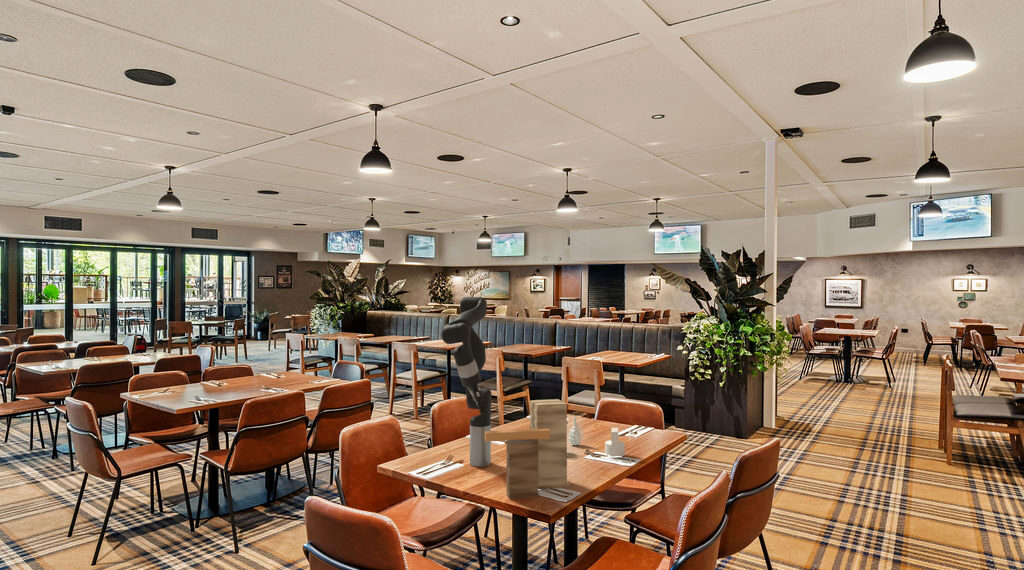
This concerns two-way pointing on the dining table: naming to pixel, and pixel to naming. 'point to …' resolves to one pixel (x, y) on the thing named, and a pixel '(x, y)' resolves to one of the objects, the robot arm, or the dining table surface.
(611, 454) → the cylinder with rectangular tab
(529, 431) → the bar
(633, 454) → the dining table surface
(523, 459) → the block
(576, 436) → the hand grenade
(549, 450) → the stand
